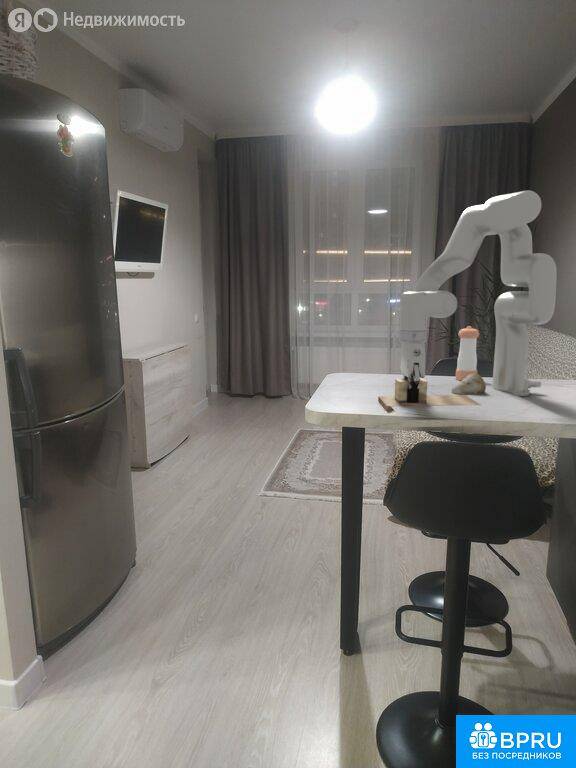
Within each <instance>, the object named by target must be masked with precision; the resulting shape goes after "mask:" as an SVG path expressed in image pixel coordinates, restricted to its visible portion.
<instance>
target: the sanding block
mask: <svg viewBox="0 0 576 768" xmlns="http://www.w3.org/2000/svg"><path fill="white" fill-rule="evenodd" d="M412 381H413V380H411V383H412ZM394 382H395V383H394V396H395V400H396V401H397V402H398V403H405V402H407V388H408V379H403V378H395V379H394ZM427 396H428V381H427V379H425V378H421V377H420V382H419V401H418V402H426V401H427Z"/></svg>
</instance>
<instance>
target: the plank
mask: <svg viewBox="0 0 576 768" xmlns="http://www.w3.org/2000/svg"><path fill="white" fill-rule="evenodd" d="M377 399H378V403H379V404H380V406H381V407H383V409H384V410H385V411H386V412H395V409H394V408H393V407H408V406H409V407H421V406H422V407H424V406H426V407H428V406H429V407H430V406H481V404H480V403H479V402H477V401H475V400H474V399H473V398H470V397H469V396H467V394H456V395H455V394H453V395H451V394H450V395H445V394H444V395H427V401H426V402H418V403H408V402H405V403H398V402H397V401H396V400H395V395H385V396H384V395H383V396H381V395H379V396H378V398H377Z"/></svg>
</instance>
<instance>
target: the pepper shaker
mask: <svg viewBox="0 0 576 768" xmlns="http://www.w3.org/2000/svg"><path fill="white" fill-rule="evenodd" d="M458 337H459V338H460V339H459V341H460V343H459V351H458V357H457V362H456V363H457V367H456V368H455V380H457V381H460V382H461V381H462V380H463V379H464V378H465V377H466V376H467V375H469V374H473V373H475V374H478V369H477V365H478V364H477V363H478V358H477V357H478V356H477V340H478V339H477V338H479V337H480V332H479V330H478V329H476V328H473V327H472V326H471V325H468V326H466V328H461V329H460V330H459V332H458Z"/></svg>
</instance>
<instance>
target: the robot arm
mask: <svg viewBox="0 0 576 768" xmlns="http://www.w3.org/2000/svg"><path fill="white" fill-rule="evenodd" d="M541 209H542V200H541V197H540V196H539V194H538V193H536V192H535V191H533V190H521V191H517V192H516V191H515V192H512V193H505V194H500V195H496V196H492V197H491V198H489V199H488V200H486V201H485V203H484V204H477V205H472V206H469V207H467V208H466V209H465V210H464V211H463V212H462V213H461V215H460V217H459V219H458V221H457V223H456V224H455V227H454V228H453V231H452V234H451V236H450V238H449V240H448V242H447V244H446V246H445V249H443V250H444V251H443V252H442V254H440V255H439V256H438V257H437V258H436V259H435V260H434V261H433V262H432V263H431V264H430V265H429V266H428V267H427V268H426V269H425V270H424V272H422V274H421V276H420V277H419V278H418V281H417V283H416V285H415V287H414V289H413V290H412V291H405V292H403V293H401V295H400V300H399V301H400V303H399V325H398V326H399V330H398V333H399V334H398V342H399V343H401V351H400V372H401V374H402V375H403V378H402V379H408V388H407V402H408V403H418V401H419V382H420V378H423V379H425V377H426V346H425V343H427V340H428V339H427V337H428V335H427V333H428V318H429V317H430V318H435V319H436V318H438V319H443V318H444V319H445V318H448V317H451V316H452V315H453V314H455V312H456V311H457V308H458V300H457V297H456V296H455V295H454V293H452V292H450V291H447V290H439V288H440V287H441V286H442V285H443V284H444V283H445V282H447V280H449V279H450V278H452V277H453V276H455V275H457V274H459V273H461V272H463V271H464V270H466V269H468V268H469V267H470V266H472V264H473V262H474V261H475V258H476V256H477V254H478V252H479V249H480V247H481V245H482V243H483V241H484V239H485V237H486V236H494V235H498V236H499V239H500V240H499V241H500V279H501V282H502V284H504V285H505V286H508V287H515V288H516V287H517V288H519V287H520V288H528V291H526V290H524V291H523V290H522V291H521V290H517V291H515V290H514V291H513V290H512V291H506V292H504V293H502V294H500V295H499V296H498V297H497V298H496V300H495V302H494V306H493V308H494V310H493V311H494V317H495V342H494V344H495V346H494V357H493V358H494V359H493V360H494V361H493V371H492V386H491V387H492V389H494V390H495V391H501V392H509V393H511V394H513V395H515V396H517V397H527V396H529V395H530V394H531V390H530V389H531V388H541V387H542V381H540V380H539V381H538V380H535V381H533V380H529V379H527V369H528V358H529V357H528V356H529V348H530V347H529V345H530V344H529V343H530V334H529V330H528V327H527V325H537V326H539V325H544V324H547V323H548V322H550V321H551V319H552V317H553V315H554V313H555V308H556V296H557V295H556V292H557V278H558V277H557V274H558V273H557V269H558V268H557V265H556V262H555V260H554V258H553V257H552V256H551V255H549V254H547V253H543V252H541V253H540V252H538V253H537V252H536V253H533V236H532V235H533V234H532V231H531V229H530V227H529V226H528V223H531V222H533V221H535V219H536V218H537V217H538V216H539V214H540V212H541ZM411 380H413V381H412V383H411Z"/></svg>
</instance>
